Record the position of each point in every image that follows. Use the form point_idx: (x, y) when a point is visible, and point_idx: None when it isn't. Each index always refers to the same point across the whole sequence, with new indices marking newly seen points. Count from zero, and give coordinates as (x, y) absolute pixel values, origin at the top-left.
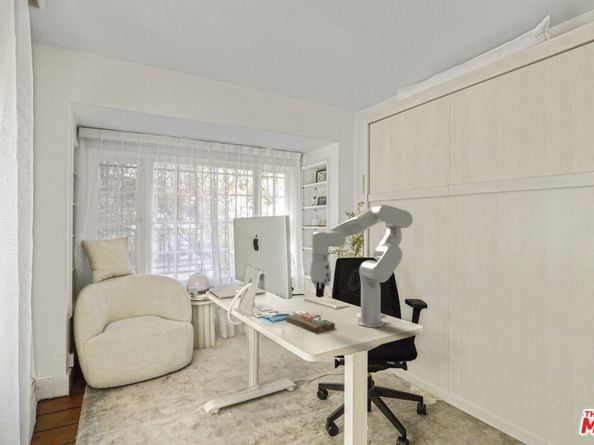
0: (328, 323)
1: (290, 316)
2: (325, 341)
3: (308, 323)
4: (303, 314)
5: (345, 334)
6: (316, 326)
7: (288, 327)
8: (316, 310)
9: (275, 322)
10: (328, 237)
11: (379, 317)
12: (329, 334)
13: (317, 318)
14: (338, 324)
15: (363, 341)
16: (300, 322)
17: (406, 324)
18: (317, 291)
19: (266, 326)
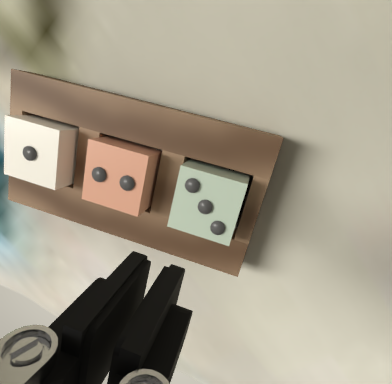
0: (253, 170)
1: (22, 189)
2: (339, 323)
3: (167, 238)
4: (61, 160)
5: (383, 182)
6: (231, 258)
7: (96, 254)
8: None
9: (13, 229)
10: None
11: None
12: (304, 233)
13: (187, 204)
14: (252, 36)
15: None
16: (120, 235)
17: None
18: (106, 372)
19: (34, 290)
